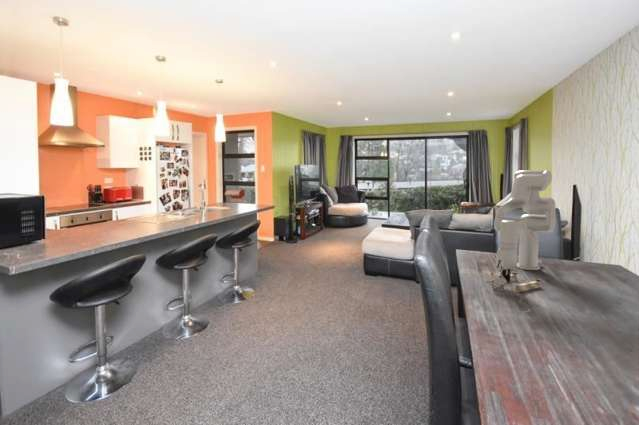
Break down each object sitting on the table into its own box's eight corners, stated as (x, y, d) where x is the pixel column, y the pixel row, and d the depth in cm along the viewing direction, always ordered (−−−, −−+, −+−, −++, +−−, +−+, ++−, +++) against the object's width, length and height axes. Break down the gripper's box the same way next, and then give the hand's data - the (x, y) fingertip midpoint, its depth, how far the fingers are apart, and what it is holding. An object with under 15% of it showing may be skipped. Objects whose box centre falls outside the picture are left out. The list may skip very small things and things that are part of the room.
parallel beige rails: (513, 279, 181) (513, 272, 180) (540, 287, 168) (540, 279, 168) (492, 283, 174) (492, 276, 174) (518, 292, 161) (519, 284, 161)
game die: (498, 295, 167) (506, 278, 169) (506, 295, 159) (515, 276, 161) (481, 286, 169) (489, 268, 171) (488, 285, 161) (497, 267, 162)
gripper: (511, 242, 172) (509, 277, 174) (490, 245, 166) (488, 282, 168) (525, 245, 165) (523, 282, 167) (504, 248, 159) (502, 286, 161)
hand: (505, 282), depth 168 cm, fingers closed
